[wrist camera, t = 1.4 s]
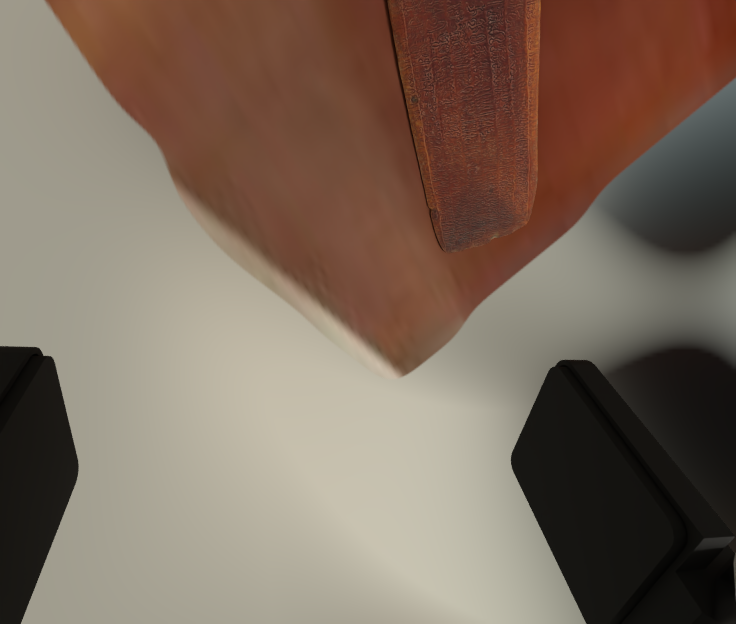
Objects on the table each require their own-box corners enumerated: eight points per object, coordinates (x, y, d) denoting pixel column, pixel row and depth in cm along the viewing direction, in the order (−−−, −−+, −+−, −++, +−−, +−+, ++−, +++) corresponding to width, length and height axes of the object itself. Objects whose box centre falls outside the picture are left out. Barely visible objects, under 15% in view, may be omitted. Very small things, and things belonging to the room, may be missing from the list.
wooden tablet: (361, -146, 28) (366, -153, 27) (530, -189, 29) (543, -198, 27) (425, 257, 43) (431, 266, 42) (536, 227, 44) (544, 235, 42)
